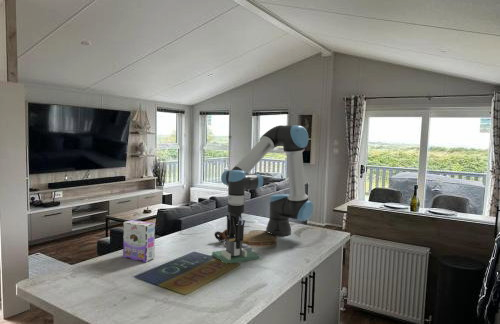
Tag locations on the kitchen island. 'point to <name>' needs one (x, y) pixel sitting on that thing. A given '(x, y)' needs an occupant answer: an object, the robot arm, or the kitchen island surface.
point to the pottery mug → (222, 236)
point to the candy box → (138, 240)
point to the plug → (232, 246)
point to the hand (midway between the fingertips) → (234, 253)
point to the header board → (245, 255)
